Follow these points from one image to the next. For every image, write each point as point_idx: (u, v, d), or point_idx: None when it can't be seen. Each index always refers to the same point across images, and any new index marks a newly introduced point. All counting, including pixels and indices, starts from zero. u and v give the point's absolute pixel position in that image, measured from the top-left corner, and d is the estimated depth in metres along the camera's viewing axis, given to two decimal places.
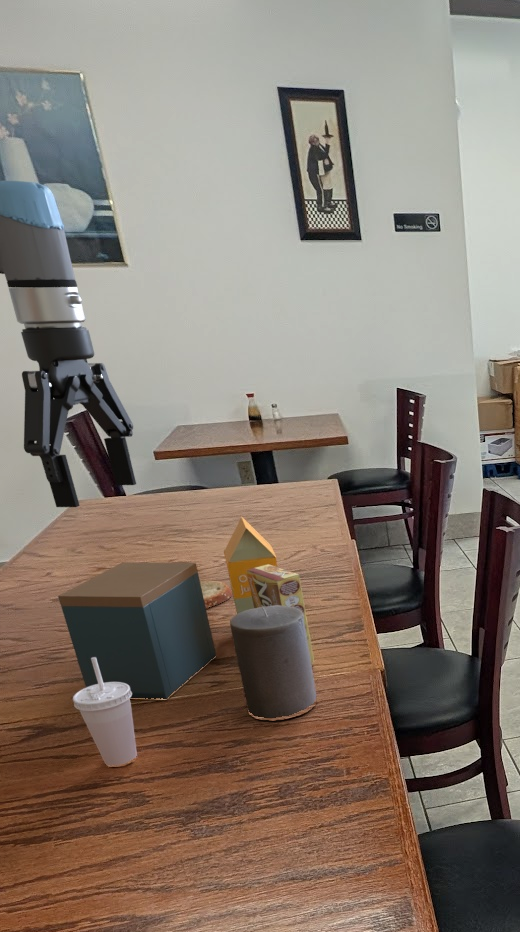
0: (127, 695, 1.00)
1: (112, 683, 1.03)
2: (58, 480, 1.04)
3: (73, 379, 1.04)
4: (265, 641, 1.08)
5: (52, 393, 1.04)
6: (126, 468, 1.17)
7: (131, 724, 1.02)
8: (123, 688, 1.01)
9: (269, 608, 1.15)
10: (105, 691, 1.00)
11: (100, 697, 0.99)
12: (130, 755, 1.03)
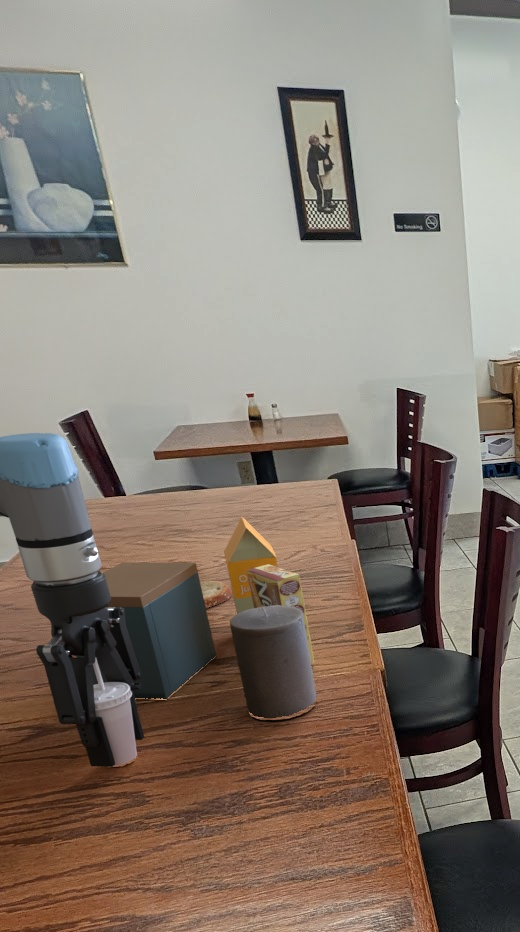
0: (127, 695, 1.00)
1: (112, 683, 1.03)
2: (94, 744, 0.98)
3: (88, 632, 0.95)
4: (265, 641, 1.08)
5: (65, 648, 0.94)
6: (133, 723, 1.05)
7: (131, 724, 1.02)
8: (123, 688, 1.01)
9: (269, 608, 1.15)
10: (105, 691, 1.00)
11: (100, 697, 0.99)
12: (130, 755, 1.03)
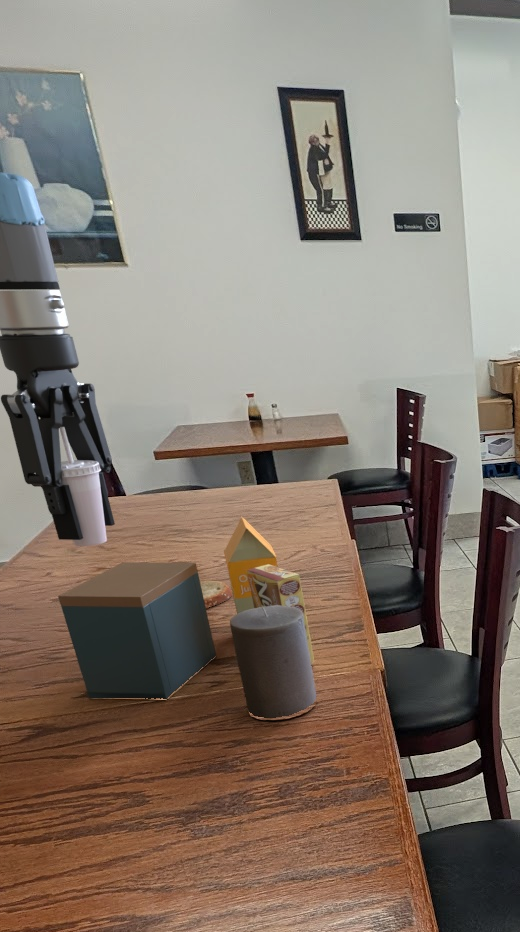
0: (95, 468, 1.00)
1: (82, 461, 1.03)
2: (61, 512, 0.98)
3: (55, 391, 0.95)
4: (265, 641, 1.08)
5: None
6: (103, 507, 1.05)
7: (100, 502, 1.02)
8: (92, 463, 1.01)
9: (269, 608, 1.15)
10: (73, 463, 1.00)
11: (68, 466, 0.99)
12: (99, 535, 1.03)
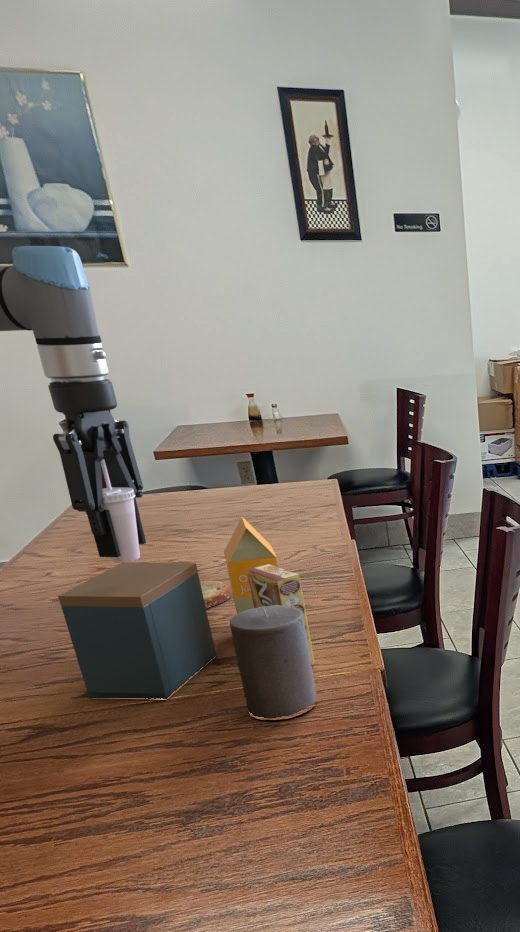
0: (131, 494, 1.15)
1: (118, 488, 1.17)
2: (102, 533, 1.13)
3: (97, 429, 1.09)
4: (265, 641, 1.08)
5: None
6: None
7: (135, 523, 1.17)
8: (128, 490, 1.16)
9: (269, 608, 1.15)
10: (112, 490, 1.15)
11: (108, 493, 1.14)
12: (134, 552, 1.18)
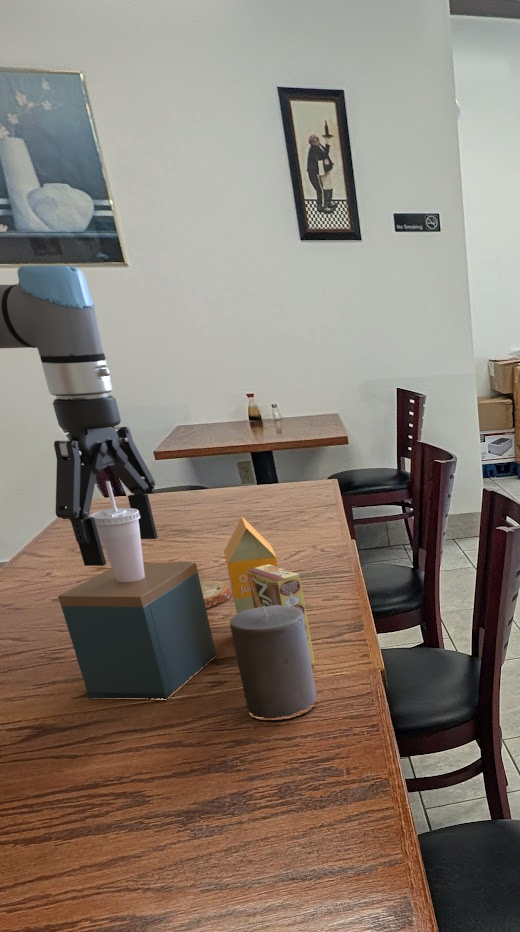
0: (136, 516, 1.16)
1: (123, 508, 1.19)
2: (87, 541, 1.10)
3: (101, 445, 1.10)
4: (265, 641, 1.08)
5: (81, 459, 1.10)
6: (148, 523, 1.23)
7: (139, 544, 1.18)
8: (133, 511, 1.17)
9: (269, 608, 1.15)
10: (117, 512, 1.16)
11: (113, 515, 1.15)
12: (139, 572, 1.19)
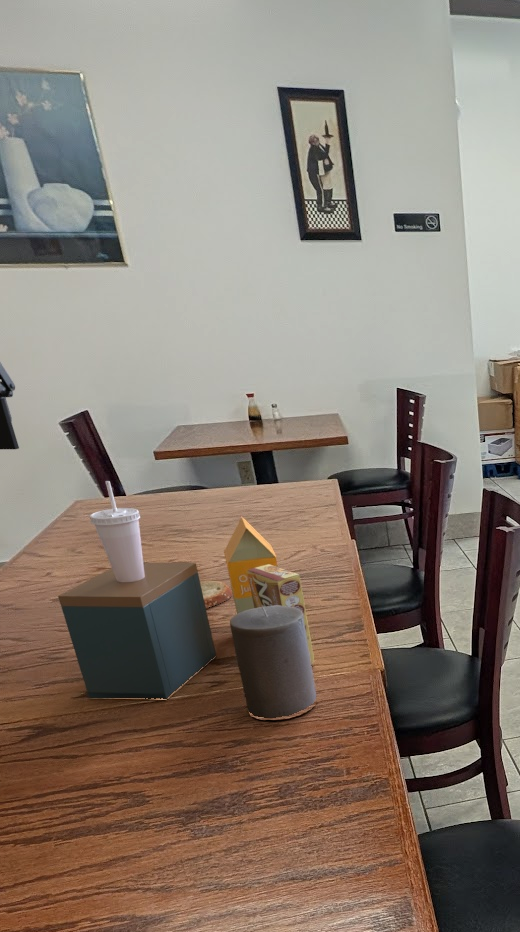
0: (136, 516, 1.16)
1: (123, 508, 1.19)
2: None
3: None
4: (265, 641, 1.08)
5: None
6: (6, 431, 1.11)
7: (139, 544, 1.18)
8: (133, 511, 1.17)
9: (269, 608, 1.15)
10: (117, 512, 1.16)
11: (113, 515, 1.15)
12: (139, 572, 1.19)
